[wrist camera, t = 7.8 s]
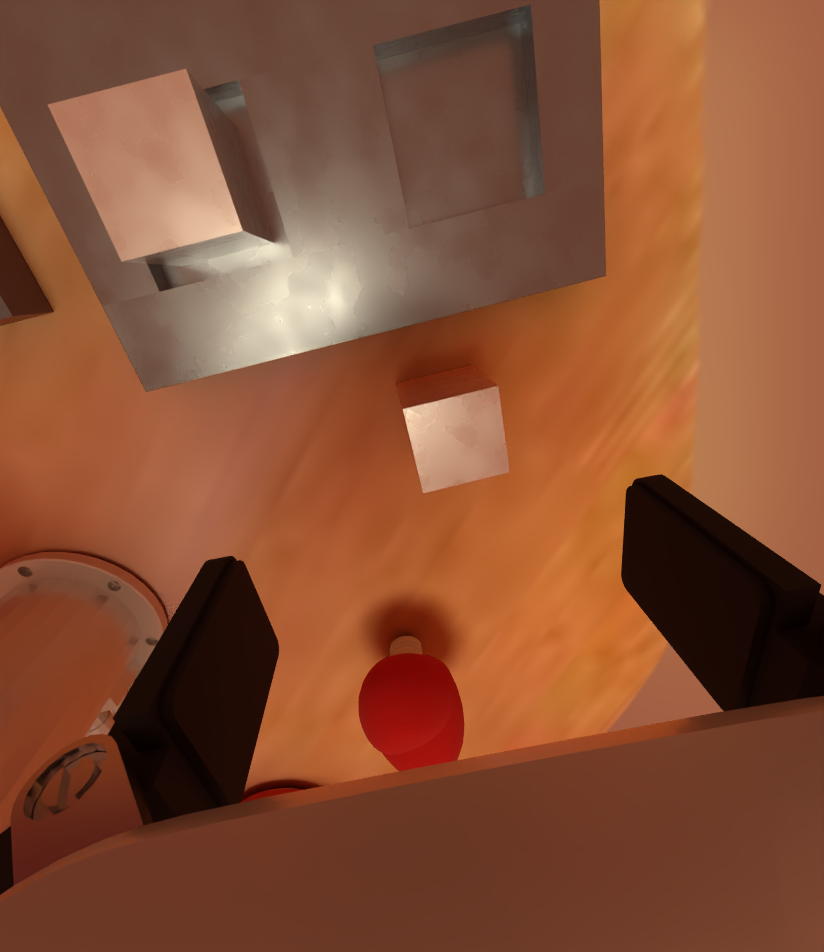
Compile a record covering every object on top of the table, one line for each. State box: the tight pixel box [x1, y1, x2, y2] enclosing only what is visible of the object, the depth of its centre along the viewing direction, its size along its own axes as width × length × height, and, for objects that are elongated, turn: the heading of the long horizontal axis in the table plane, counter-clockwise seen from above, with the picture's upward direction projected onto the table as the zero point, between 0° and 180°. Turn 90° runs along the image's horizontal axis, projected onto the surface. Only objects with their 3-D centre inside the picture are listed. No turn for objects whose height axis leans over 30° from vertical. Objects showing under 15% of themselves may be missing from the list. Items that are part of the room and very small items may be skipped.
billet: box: [396, 365, 510, 493], centre depth 25 cm, size 5×5×6 cm
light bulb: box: [359, 636, 464, 771], centre depth 32 cm, size 9×7×10 cm
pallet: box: [0, 0, 606, 392], centre depth 21 cm, size 16×26×2 cm, turn 103°
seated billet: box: [48, 69, 273, 266], centre depth 18 cm, size 5×5×6 cm
